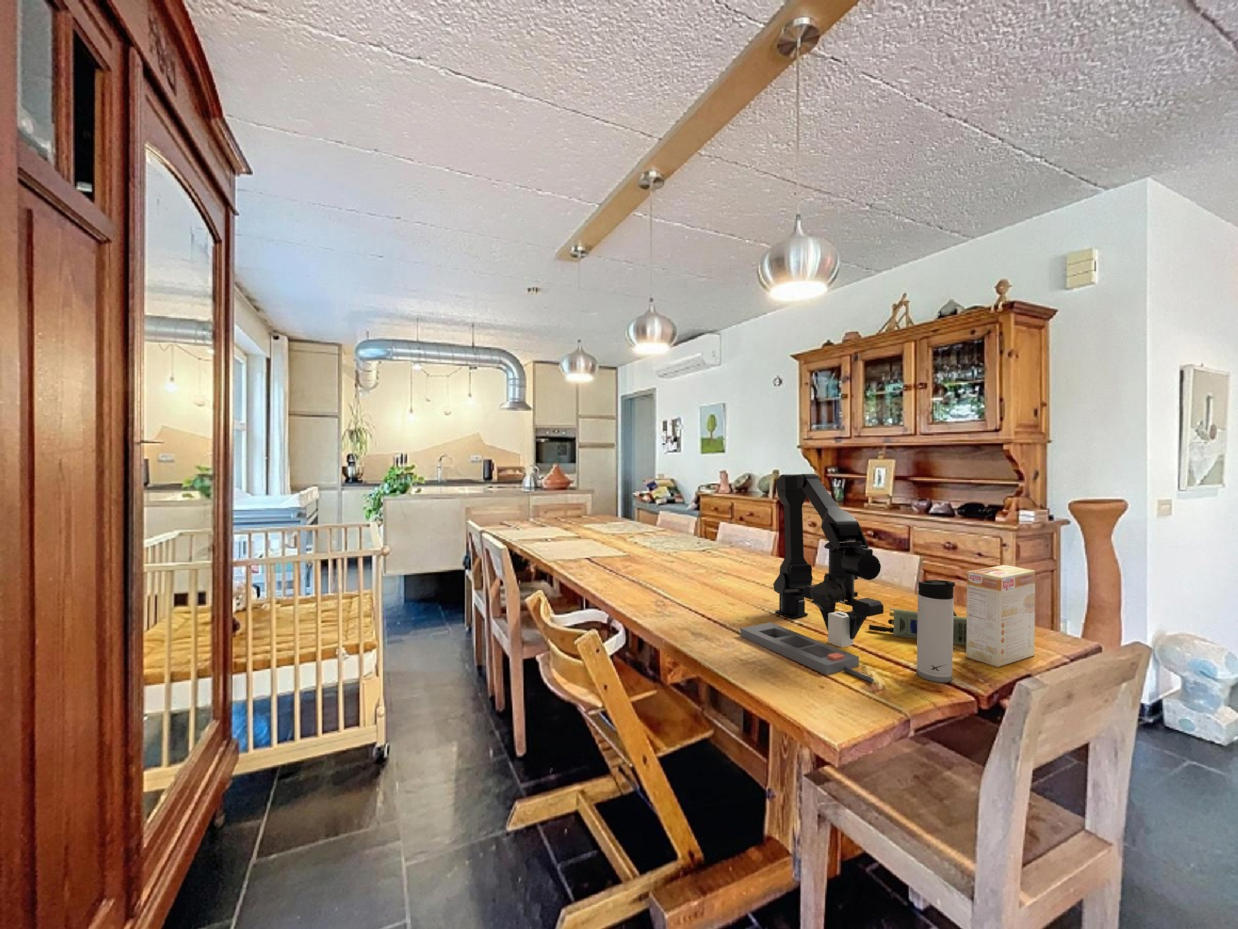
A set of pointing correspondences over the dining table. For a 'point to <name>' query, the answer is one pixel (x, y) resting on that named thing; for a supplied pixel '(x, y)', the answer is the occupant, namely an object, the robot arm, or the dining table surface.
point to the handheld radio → (908, 626)
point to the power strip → (803, 649)
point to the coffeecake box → (1000, 614)
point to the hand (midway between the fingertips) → (840, 634)
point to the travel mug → (935, 630)
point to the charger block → (839, 629)
